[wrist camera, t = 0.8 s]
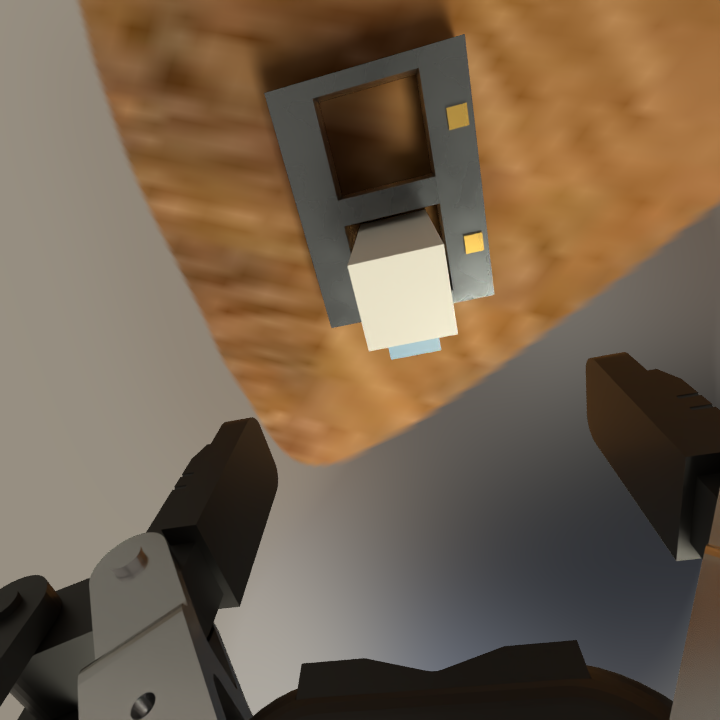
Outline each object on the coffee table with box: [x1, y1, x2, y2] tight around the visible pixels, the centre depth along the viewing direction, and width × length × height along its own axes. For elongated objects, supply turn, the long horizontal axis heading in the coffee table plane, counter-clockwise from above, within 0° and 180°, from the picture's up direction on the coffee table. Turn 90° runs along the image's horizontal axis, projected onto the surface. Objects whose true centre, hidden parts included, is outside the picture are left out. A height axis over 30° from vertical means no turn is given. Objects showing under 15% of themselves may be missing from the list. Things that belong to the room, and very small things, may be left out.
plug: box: [347, 210, 458, 360], centre depth 24 cm, size 5×4×10 cm
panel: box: [264, 34, 494, 328], centre depth 25 cm, size 13×10×3 cm
